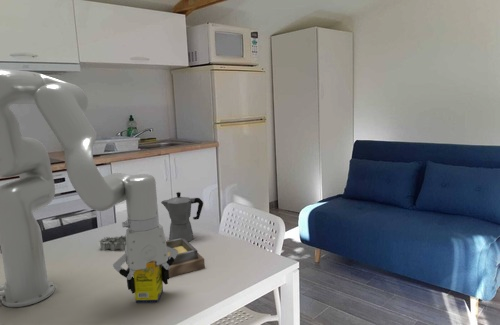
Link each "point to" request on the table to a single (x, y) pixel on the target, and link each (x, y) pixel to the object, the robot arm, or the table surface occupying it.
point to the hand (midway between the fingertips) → (149, 286)
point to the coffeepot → (181, 216)
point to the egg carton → (113, 243)
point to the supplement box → (148, 283)
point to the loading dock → (184, 257)
